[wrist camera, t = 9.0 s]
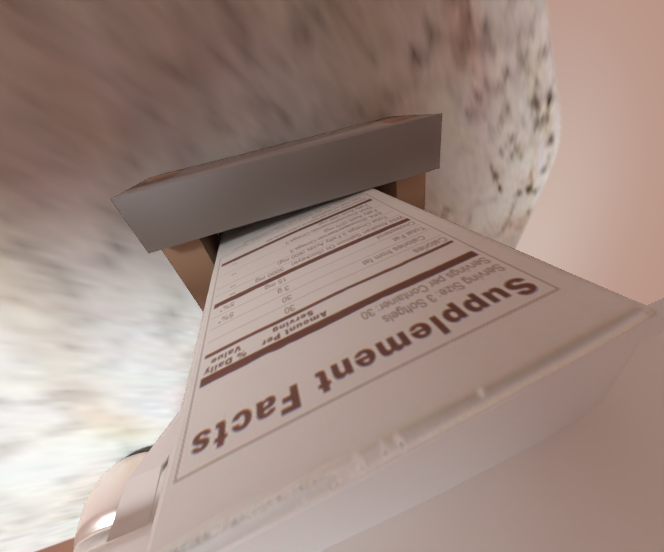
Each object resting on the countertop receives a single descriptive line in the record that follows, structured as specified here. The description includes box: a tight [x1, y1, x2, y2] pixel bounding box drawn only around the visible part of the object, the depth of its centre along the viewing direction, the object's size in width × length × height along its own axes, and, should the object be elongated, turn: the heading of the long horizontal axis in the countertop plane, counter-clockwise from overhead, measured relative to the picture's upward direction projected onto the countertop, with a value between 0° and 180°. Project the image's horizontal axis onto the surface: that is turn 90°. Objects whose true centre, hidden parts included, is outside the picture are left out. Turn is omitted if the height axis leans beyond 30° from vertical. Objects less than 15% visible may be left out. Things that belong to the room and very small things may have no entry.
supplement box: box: [146, 188, 659, 552], centre depth 10 cm, size 7×7×13 cm
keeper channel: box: [110, 114, 442, 312], centre depth 17 cm, size 22×12×4 cm, turn 12°
